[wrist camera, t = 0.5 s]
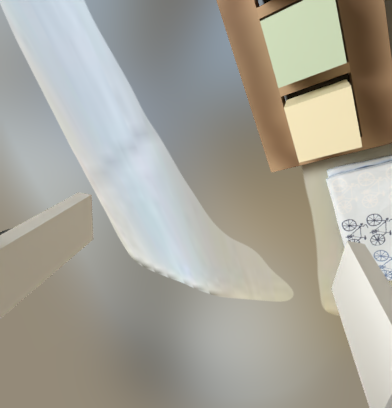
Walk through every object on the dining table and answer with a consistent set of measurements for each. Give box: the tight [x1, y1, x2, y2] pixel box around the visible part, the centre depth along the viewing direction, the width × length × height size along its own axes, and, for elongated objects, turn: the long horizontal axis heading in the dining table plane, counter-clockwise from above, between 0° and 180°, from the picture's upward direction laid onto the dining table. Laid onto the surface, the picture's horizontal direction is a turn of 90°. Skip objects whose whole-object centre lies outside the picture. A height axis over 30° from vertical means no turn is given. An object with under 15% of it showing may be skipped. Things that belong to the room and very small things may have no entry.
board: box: [217, 0, 392, 172], centre depth 31 cm, size 14×26×3 cm, turn 23°
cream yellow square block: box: [284, 79, 362, 163], centre depth 31 cm, size 6×6×4 cm
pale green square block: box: [260, 0, 347, 88], centre depth 28 cm, size 6×6×4 cm
